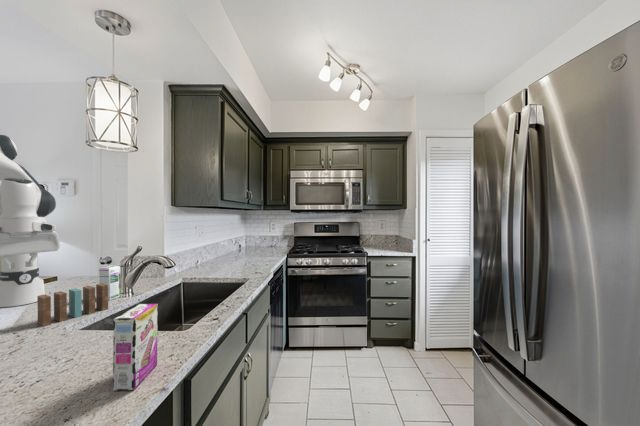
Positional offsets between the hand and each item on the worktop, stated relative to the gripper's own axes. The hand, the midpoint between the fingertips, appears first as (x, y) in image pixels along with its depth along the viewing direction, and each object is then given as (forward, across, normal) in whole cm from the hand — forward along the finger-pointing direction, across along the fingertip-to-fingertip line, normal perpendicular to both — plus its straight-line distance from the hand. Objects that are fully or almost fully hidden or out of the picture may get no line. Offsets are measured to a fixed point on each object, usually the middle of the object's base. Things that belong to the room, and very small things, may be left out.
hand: (20, 267), depth 97 cm
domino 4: (+21, +20, 0) cm, 29 cm away
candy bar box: (+21, +4, -62) cm, 66 cm away
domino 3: (+21, +15, 0) cm, 26 cm away
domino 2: (+21, +10, 0) cm, 24 cm away
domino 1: (+21, +6, 0) cm, 22 cm away
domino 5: (+21, +24, 0) cm, 32 cm away
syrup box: (+21, +33, +13) cm, 41 cm away
